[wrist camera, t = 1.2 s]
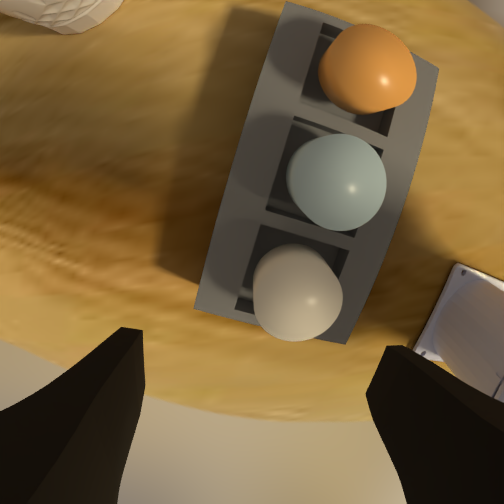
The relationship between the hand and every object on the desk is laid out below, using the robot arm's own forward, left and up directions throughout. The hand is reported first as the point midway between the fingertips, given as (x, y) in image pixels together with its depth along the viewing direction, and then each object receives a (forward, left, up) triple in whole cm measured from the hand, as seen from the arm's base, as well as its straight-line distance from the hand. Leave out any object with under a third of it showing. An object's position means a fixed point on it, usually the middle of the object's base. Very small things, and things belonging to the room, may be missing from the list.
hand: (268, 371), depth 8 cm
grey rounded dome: (-2, -5, -8) cm, 10 cm away
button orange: (-2, -11, -8) cm, 14 cm away
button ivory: (-2, 0, -8) cm, 8 cm away
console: (-2, -5, -11) cm, 12 cm away
